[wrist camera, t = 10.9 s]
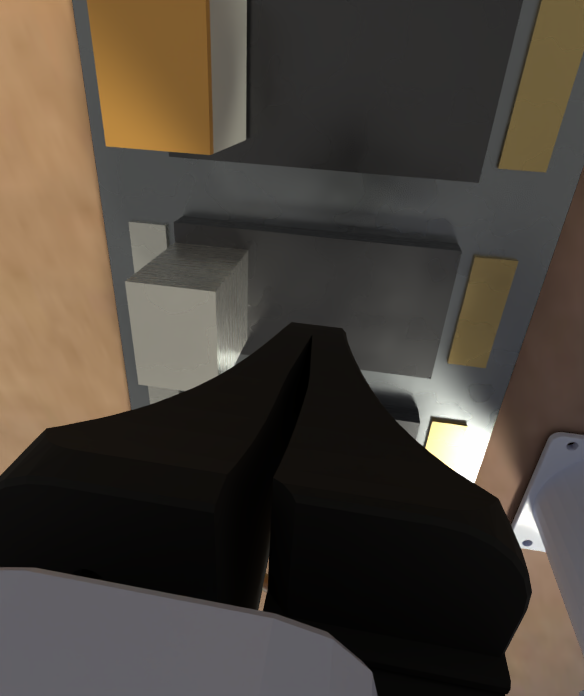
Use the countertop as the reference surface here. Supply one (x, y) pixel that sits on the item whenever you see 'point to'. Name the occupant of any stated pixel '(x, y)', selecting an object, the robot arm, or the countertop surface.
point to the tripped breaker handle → (171, 73)
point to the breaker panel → (360, 204)
